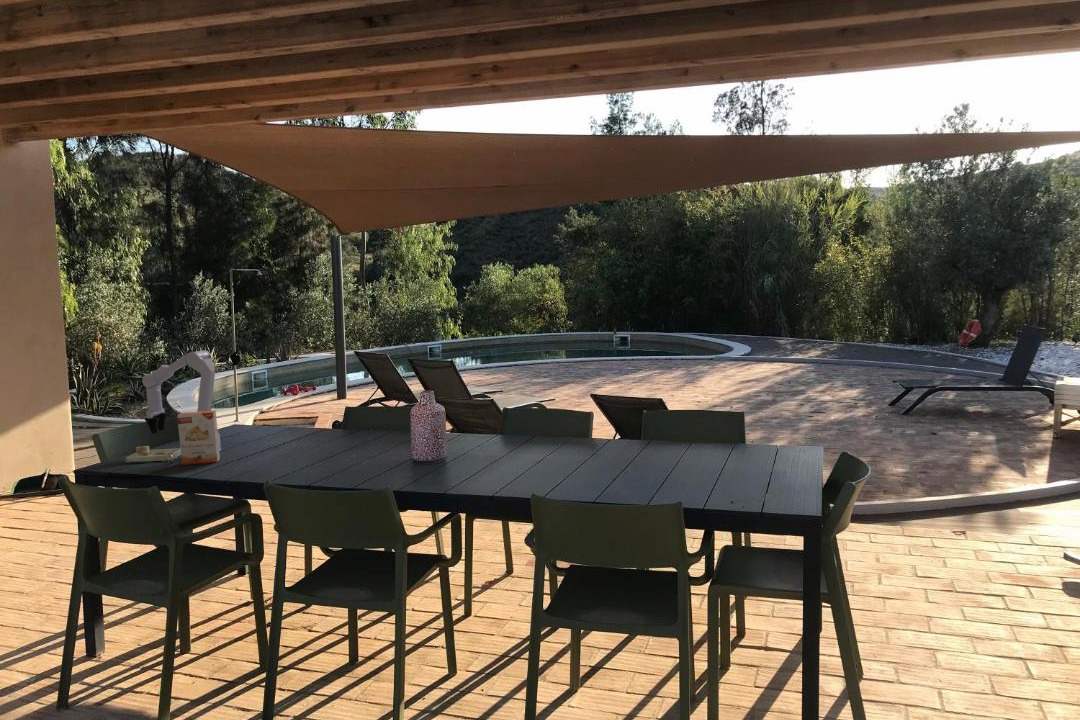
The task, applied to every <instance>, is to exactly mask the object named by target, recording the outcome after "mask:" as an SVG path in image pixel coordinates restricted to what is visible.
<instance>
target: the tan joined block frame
mask: <svg viewBox="0 0 1080 720" xmlns="http://www.w3.org/2000/svg"><path fill="white" fill-rule="evenodd" d="M135 451H136V452H137V457H140V456H156V455H166V453H168V452H169V451H165V452H153V453H151V454H150V446H149V445H143V446H141V445H140V446H136V447H135ZM136 452H135V453H136ZM170 452H171V451H170ZM173 453H174V451H173Z"/></svg>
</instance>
